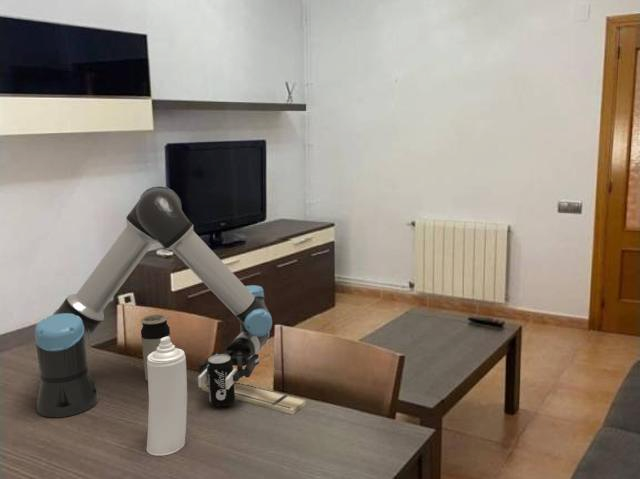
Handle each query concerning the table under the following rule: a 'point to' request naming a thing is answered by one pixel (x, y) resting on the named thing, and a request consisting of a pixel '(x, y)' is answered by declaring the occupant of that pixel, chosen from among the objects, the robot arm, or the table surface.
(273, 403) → the birch straightedge
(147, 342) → the travel mug
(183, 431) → the spray can
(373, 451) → the table surface
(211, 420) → the table surface
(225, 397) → the beverage can
